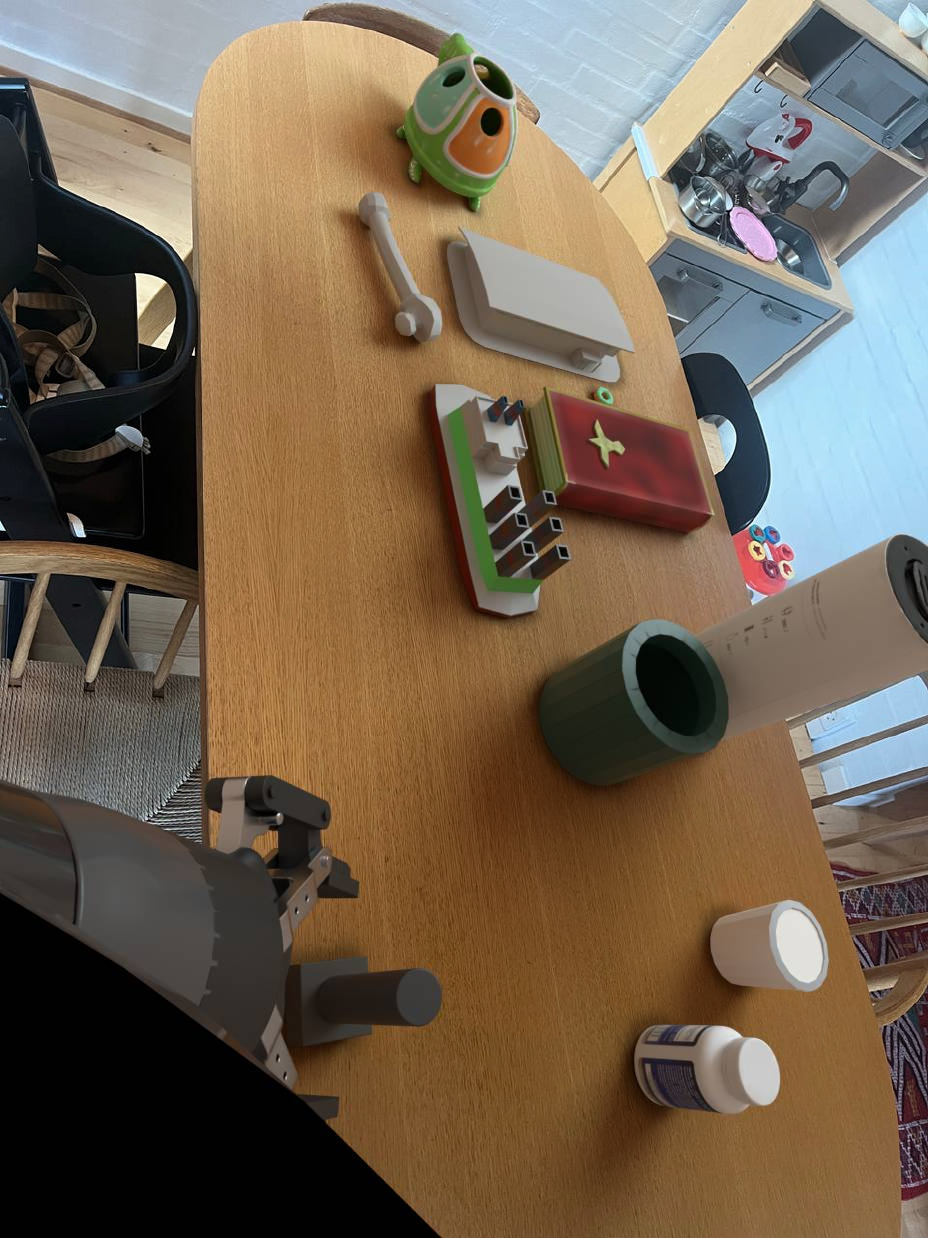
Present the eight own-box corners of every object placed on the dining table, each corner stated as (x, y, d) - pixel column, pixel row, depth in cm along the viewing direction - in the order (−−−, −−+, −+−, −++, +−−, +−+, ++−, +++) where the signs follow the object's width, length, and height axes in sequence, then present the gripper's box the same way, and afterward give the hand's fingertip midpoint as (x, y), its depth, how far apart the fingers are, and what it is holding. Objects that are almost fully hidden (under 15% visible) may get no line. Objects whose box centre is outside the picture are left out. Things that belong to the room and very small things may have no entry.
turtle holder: (466, 122, 100) (517, 32, 90) (494, 226, 93) (552, 140, 84) (380, 84, 93) (425, -18, 84) (403, 193, 87) (455, 95, 78)
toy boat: (469, 617, 67) (519, 577, 61) (422, 383, 76) (462, 329, 70) (540, 619, 71) (594, 583, 65) (488, 398, 80) (531, 347, 74)
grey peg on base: (353, 1033, 49) (463, 1039, 38) (286, 1045, 47) (382, 1055, 36) (349, 958, 51) (453, 943, 40) (284, 966, 48) (375, 953, 38)
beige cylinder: (715, 769, 75) (990, 681, 55) (635, 720, 72) (893, 609, 52) (724, 680, 81) (974, 572, 61) (650, 632, 78) (886, 501, 58)
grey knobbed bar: (435, 354, 79) (454, 329, 76) (391, 347, 76) (408, 320, 73) (394, 219, 84) (409, 191, 81) (350, 208, 81) (365, 178, 78)
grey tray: (624, 387, 94) (646, 366, 91) (464, 341, 82) (483, 315, 79) (596, 290, 99) (616, 268, 96) (442, 234, 87) (459, 206, 84)
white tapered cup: (759, 1005, 66) (829, 1005, 61) (700, 976, 64) (768, 973, 59) (763, 925, 70) (830, 918, 65) (708, 895, 68) (772, 886, 63)
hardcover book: (690, 535, 88) (717, 517, 85) (542, 505, 78) (568, 483, 75) (666, 448, 93) (691, 428, 90) (523, 408, 82) (547, 384, 79)
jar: (649, 785, 70) (743, 754, 62) (550, 786, 64) (639, 752, 56) (624, 669, 74) (709, 626, 66) (530, 661, 69) (609, 611, 60)
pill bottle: (680, 1116, 58) (785, 1132, 51) (626, 1091, 57) (726, 1103, 49) (689, 1039, 61) (790, 1043, 54) (638, 1013, 60) (734, 1014, 52)
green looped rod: (658, 445, 93) (664, 441, 92) (591, 401, 89) (597, 396, 88) (659, 431, 94) (665, 426, 93) (593, 387, 90) (599, 382, 89)
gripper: (140, 1332, 16) (398, 1196, 30) (250, 699, 23) (419, 826, 37) (-136, 1289, 18) (226, 1180, 32) (40, 716, 25) (276, 831, 38)
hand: (329, 991), depth 34 cm, fingers open, 8 cm apart
